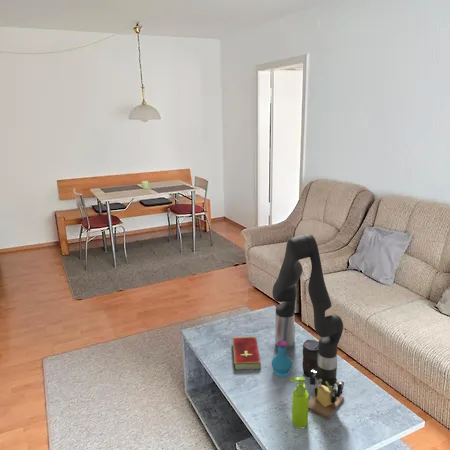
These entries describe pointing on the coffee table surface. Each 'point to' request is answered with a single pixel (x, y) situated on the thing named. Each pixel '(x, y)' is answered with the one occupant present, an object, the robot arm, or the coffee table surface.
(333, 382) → the robot arm
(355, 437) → the coffee table surface
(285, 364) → the perfume bottle
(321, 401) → the tan wooden block
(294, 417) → the soap dispenser
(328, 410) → the post board
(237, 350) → the hardcover book
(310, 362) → the camera lens
